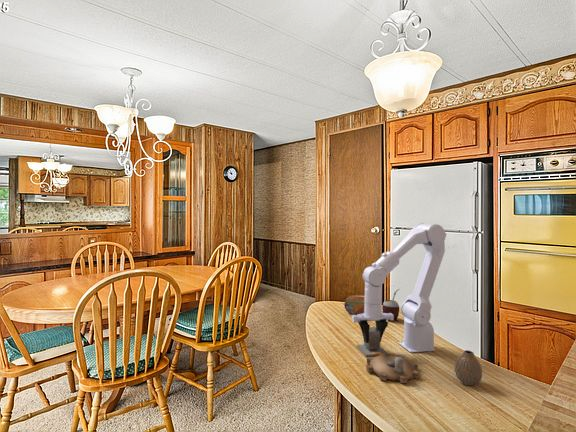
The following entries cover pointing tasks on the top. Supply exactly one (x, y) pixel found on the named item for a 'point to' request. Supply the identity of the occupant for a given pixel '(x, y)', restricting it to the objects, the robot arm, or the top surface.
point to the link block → (373, 339)
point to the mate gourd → (391, 307)
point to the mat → (371, 351)
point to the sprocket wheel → (392, 368)
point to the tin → (355, 304)
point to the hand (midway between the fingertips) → (372, 341)
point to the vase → (468, 369)
